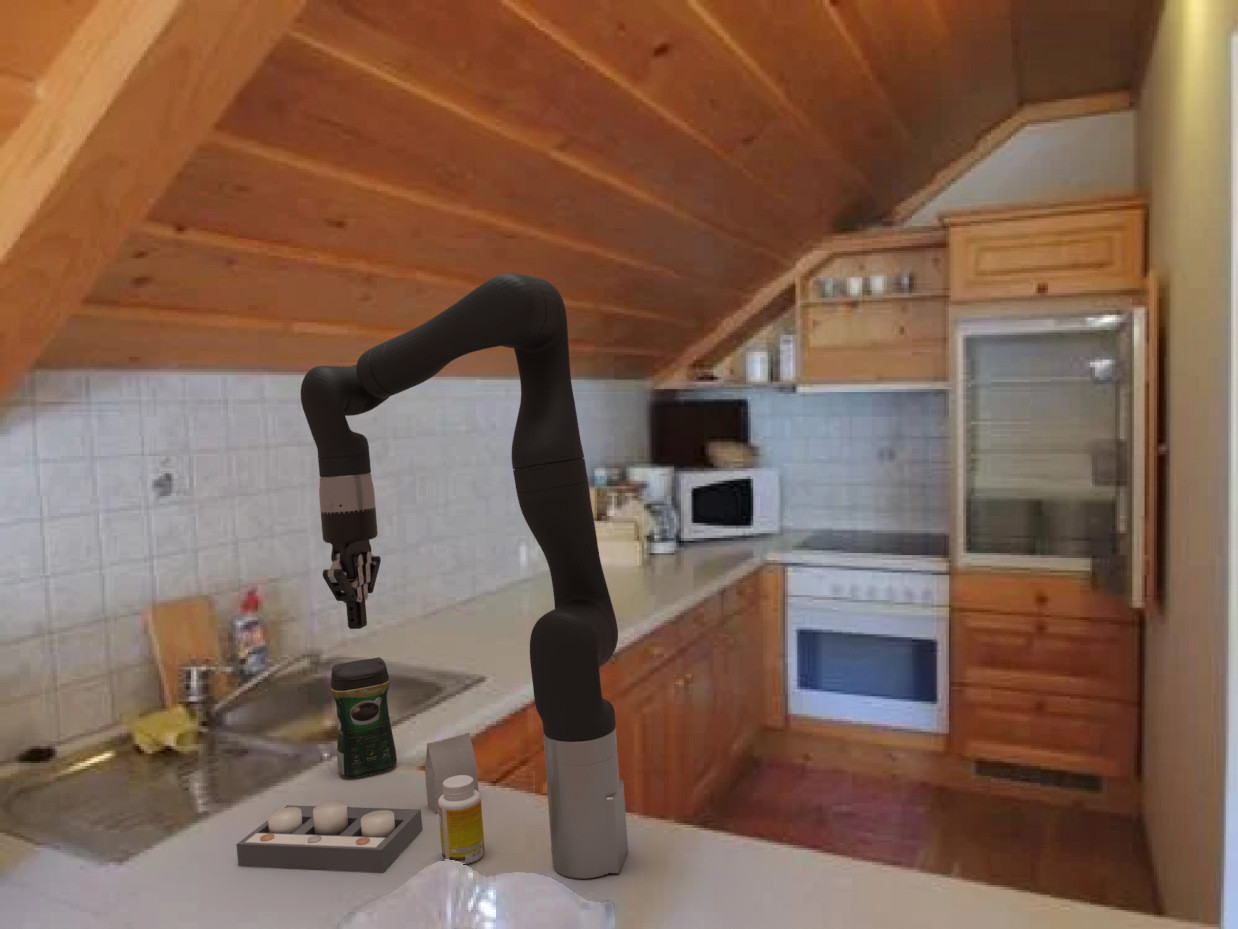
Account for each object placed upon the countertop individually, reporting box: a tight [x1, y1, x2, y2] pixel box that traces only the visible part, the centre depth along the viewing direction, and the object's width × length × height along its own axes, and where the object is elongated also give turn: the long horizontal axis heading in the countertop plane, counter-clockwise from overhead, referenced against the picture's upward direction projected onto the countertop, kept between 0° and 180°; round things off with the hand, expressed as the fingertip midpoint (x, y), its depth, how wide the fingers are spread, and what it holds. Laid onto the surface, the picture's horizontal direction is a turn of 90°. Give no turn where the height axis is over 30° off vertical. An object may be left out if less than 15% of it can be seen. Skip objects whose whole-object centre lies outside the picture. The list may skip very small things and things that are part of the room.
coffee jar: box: [330, 657, 398, 779], centre depth 152 cm, size 10×8×19 cm
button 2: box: [361, 810, 395, 837], centre depth 123 cm, size 4×4×3 cm
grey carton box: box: [424, 732, 480, 815], centre depth 136 cm, size 4×7×10 cm, turn 124°
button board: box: [236, 804, 423, 873], centre depth 124 cm, size 21×12×3 cm, turn 78°
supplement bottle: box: [438, 775, 485, 865], centre depth 119 cm, size 6×6×10 cm
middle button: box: [313, 800, 348, 835], centre depth 124 cm, size 4×4×3 cm
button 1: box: [267, 807, 303, 834], centre depth 125 cm, size 4×4×3 cm
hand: (357, 627), depth 129 cm, fingers closed
